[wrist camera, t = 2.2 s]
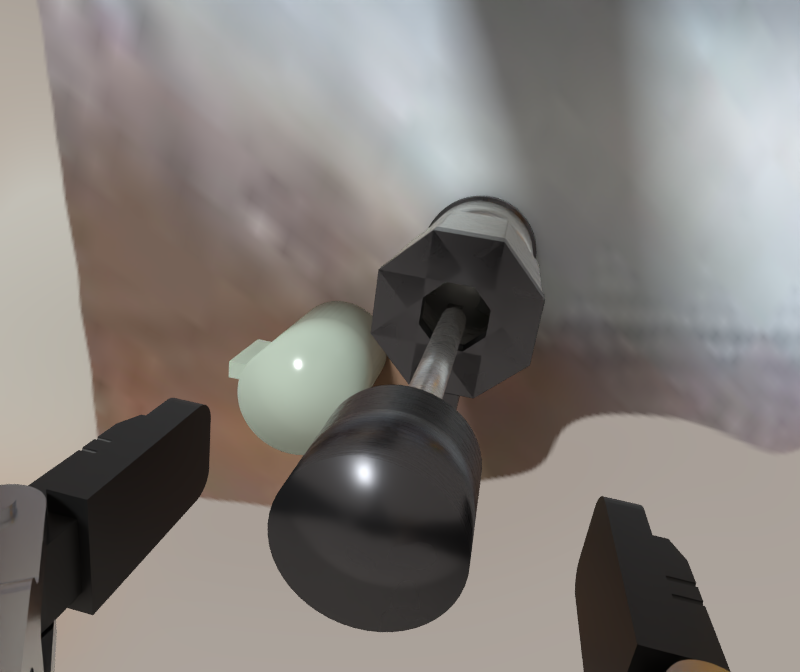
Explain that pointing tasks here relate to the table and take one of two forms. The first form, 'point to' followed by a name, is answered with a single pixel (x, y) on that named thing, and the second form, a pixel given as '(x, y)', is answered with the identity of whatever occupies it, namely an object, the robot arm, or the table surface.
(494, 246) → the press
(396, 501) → the plunger
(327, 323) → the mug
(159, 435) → the robot arm
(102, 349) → the table surface
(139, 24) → the table surface
